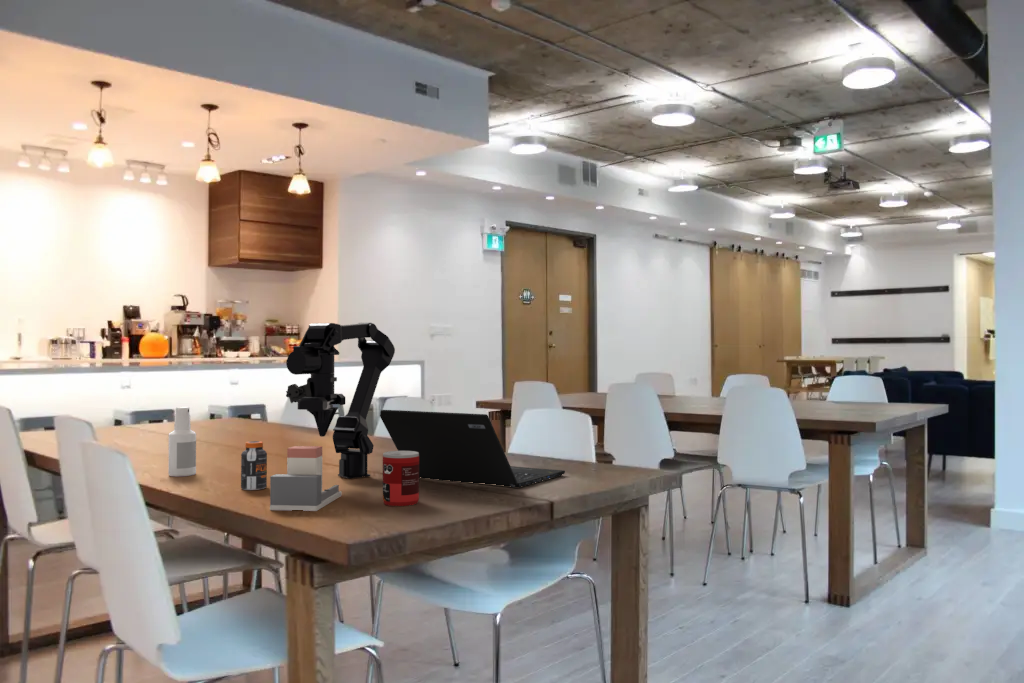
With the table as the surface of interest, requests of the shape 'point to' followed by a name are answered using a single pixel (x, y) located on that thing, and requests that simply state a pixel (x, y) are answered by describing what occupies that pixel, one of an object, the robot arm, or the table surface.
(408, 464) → the canned food
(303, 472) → the cream and pink block
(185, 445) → the spray bottle
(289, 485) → the grey and white holder
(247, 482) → the pill bottle
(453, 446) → the laptop
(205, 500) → the table surface
